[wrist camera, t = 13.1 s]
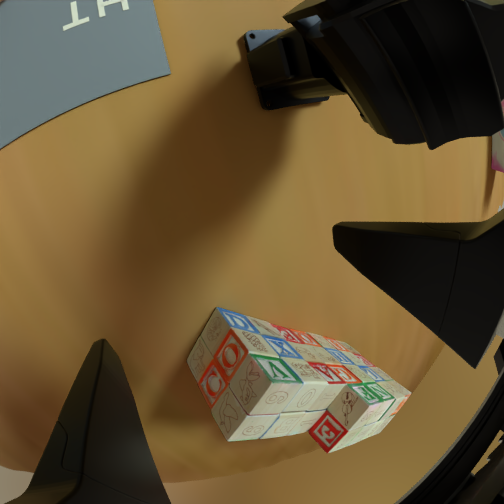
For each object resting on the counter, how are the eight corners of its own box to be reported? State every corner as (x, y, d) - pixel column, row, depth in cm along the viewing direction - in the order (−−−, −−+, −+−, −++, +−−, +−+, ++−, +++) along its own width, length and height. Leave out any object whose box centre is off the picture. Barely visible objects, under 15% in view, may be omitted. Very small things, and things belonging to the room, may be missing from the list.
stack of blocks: (183, 360, 23) (245, 475, 13) (214, 304, 23) (303, 414, 13) (321, 377, 36) (380, 433, 25) (346, 341, 35) (413, 394, 25)
